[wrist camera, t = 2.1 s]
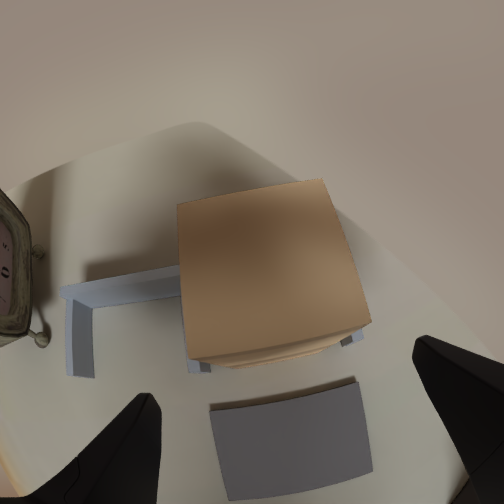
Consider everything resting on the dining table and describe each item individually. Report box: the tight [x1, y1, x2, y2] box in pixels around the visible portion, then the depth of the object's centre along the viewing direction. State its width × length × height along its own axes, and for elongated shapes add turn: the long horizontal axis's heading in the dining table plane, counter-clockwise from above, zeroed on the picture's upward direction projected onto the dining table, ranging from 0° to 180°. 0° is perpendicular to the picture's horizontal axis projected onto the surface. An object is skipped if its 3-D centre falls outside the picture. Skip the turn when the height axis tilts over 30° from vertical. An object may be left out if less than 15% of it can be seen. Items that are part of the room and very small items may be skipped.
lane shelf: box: [60, 265, 364, 378], centre depth 18 cm, size 7×22×4 cm, turn 100°
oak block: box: [177, 178, 372, 369], centre depth 15 cm, size 6×6×12 cm
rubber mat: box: [209, 382, 373, 501], centre depth 15 cm, size 8×11×1 cm
